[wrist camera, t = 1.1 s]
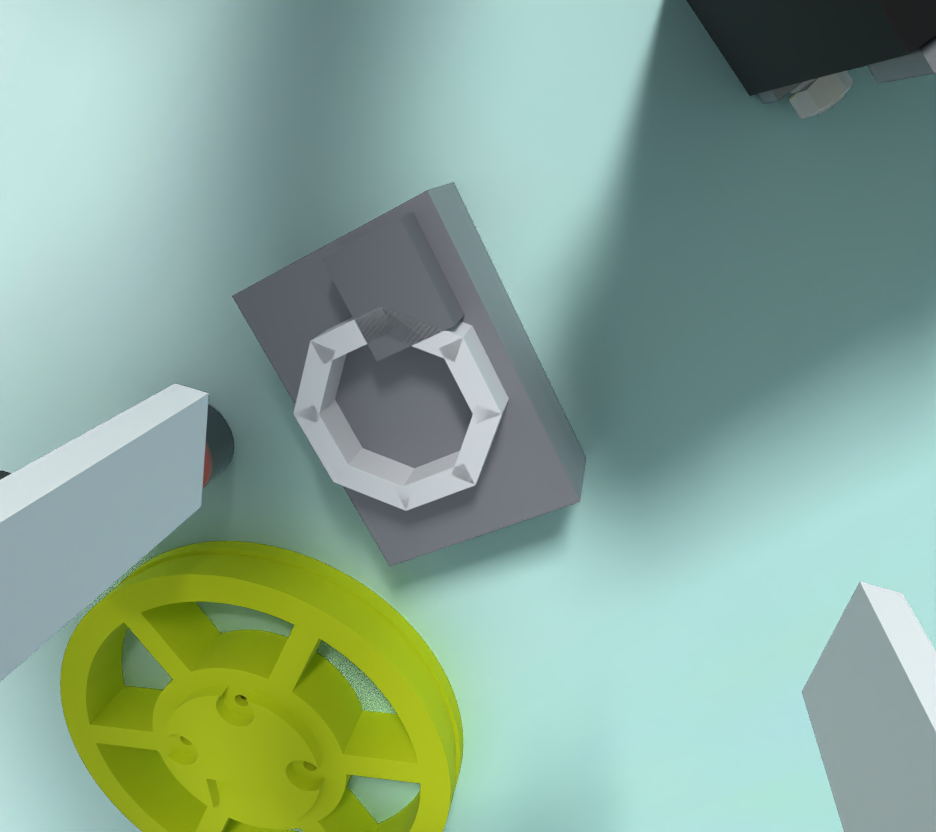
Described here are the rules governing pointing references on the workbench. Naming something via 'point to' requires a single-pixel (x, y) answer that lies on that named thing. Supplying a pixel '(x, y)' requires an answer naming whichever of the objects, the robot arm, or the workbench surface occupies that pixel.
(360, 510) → the plate with octagonal ring
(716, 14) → the electrical component
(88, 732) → the pulley
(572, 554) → the workbench surface
